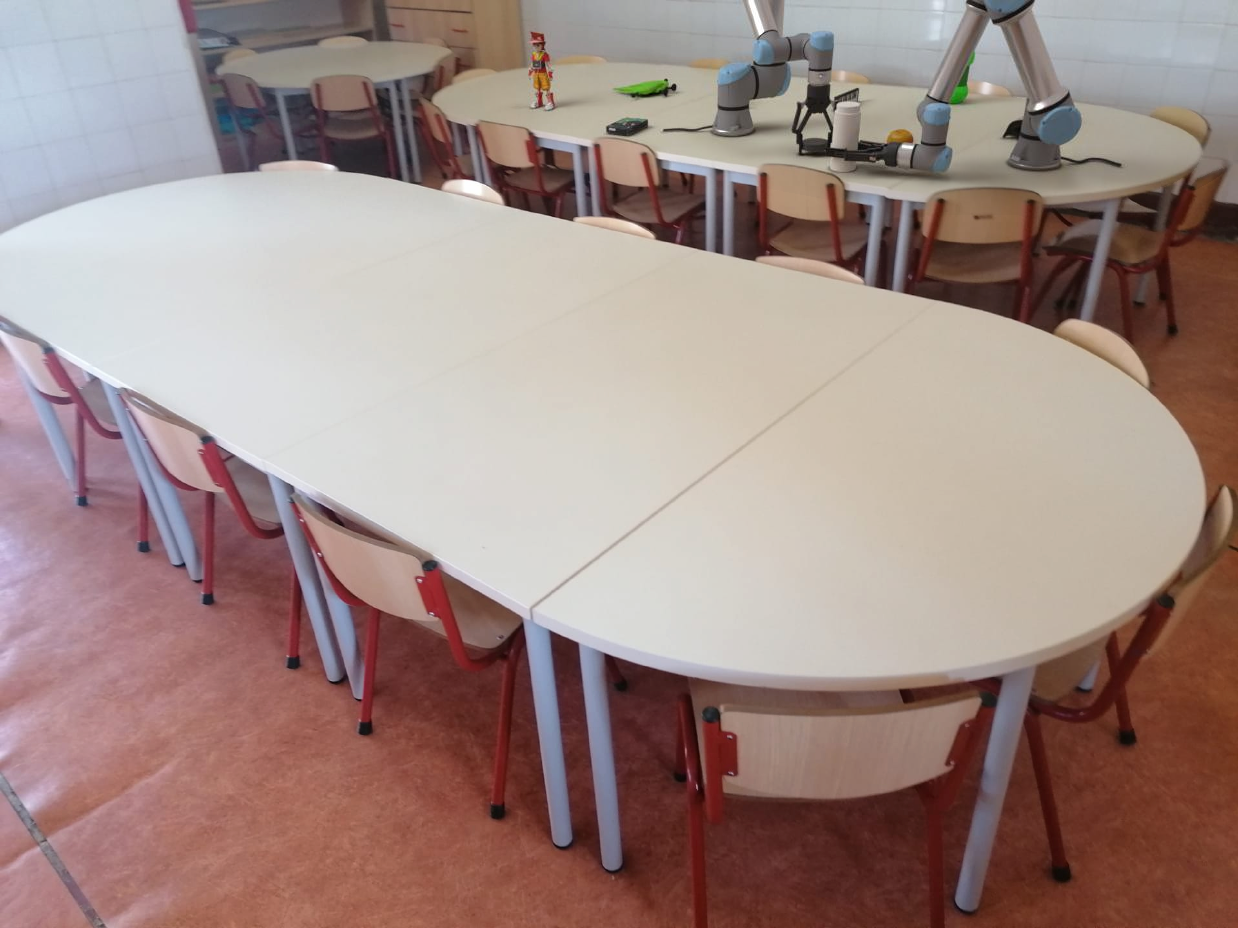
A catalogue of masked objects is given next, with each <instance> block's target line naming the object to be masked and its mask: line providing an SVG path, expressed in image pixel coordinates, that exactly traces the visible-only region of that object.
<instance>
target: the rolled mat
mask: <svg viewBox="0 0 1238 928" xmlns="http://www.w3.org/2000/svg"><path fill="white" fill-rule="evenodd" d="M1023 116H1024V115H1022V116H1020V117H1018V118H1016V119H1014V120H1013V121H1011V122H1010V123H1009V124H1008V125H1007V127H1006V129H1005V131H1004V133H1003V135H1002V139H1004V138H1006V137H1013V138H1015V139H1016V140H1018V139H1019V137H1020V132H1021V127H1022V122H1023Z"/></svg>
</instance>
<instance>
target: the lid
mask: <svg viewBox="0 0 1238 928" xmlns="http://www.w3.org/2000/svg"><path fill="white" fill-rule="evenodd" d="M826 147H828V139H826V138H823V137H809V138H808V137H807V138H803V142H802V151H804V152H809V153H822V152H825V149H826Z"/></svg>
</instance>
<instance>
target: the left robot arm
mask: <svg viewBox="0 0 1238 928" xmlns="http://www.w3.org/2000/svg"><path fill="white" fill-rule="evenodd" d="M785 1H786V0H742V2H743V5H744V8H745V11H746V14H747V17H748V20H749V23H750V26H751V29H752V32H753V35H754V38H755V42H754V43H753V45H752V57H753V59H752V60H753V61H752V65H751V63H750V62H749V61H735V62H730V63H727V64H724V65H723V66H722V67H720V68H719V70H718V75H717V82H716V83H717V111H716V114H715V118H714V120H713V124H711V125H706V126H702V127H697V128H686V127H671V128H663V129H662V132H671V131H672V132H673V131H684V132H698V131H702V130H707V129H711V128H712V133H713V134H715V135H717V136H721V137H741V136H746V135H750V134H752V133H754V127H755V126H754V122H753V118H752V115H751V111H750V101H754V100H761V99H768V98H769V99H770V98H771V99H772V98H776V97H781V96H783V95H784V94H786V92H787V91H788V90H789V88H790V84H791V80H792V71H791V65H790V64H789V62H796V61H797V62H798V61H808V68H807V69H808V71H807V85H806V86H807V87H806V98H805V99H804V101H797V102H796V111H795V114H794V118H793V121H792V126H791V129H790V131H791V133H792V134H795V135H796V136H795V137H796V138H795V143H796V145H797V146H798V155H799V156H802V155H803V150H802V142H803V140H804V134H803V131H804V129H805V127H806V125H807V123H808V122H809V119H810V117H811V116H812V115H815V114H819V115H820V114H823V116H824V119H825V122H826V123H827V127H828V128H829V131H828V132H827V140H828V147H829V148H832V138H833V126H834V124H833V122H832V120H831V118H830V115H829V113H828V110H827V109H828V108H829V106H830V105H831V107H832V111H833V114H834V113H835V110H837V106H836V105H837V104H838V103H839V102H838V100H834V99H833V100H832V99H831V82H832V72H833V71H832V68H833V59H834V48H835V34H834V33H833V32H832V31H829V30H818V31H813V32H811V33H808V32H799V33H797V34H795V35H792V36H791V35H790V36H783V35H784V18H785V17H784V16H785V3H786V2H785ZM804 106H805V107H806V108H807V110H806V112H805V113H804V116H803V118H802V120H801V122H800V124H799V121H800V117H801V114H802V110H803V109H804V108H805V107H804ZM798 124H799V125H798Z"/></svg>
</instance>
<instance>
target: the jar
mask: <svg viewBox="0 0 1238 928" xmlns="http://www.w3.org/2000/svg"><path fill="white" fill-rule="evenodd" d="M836 106H837V110H835V113H834V112H833V138H832V143H831V148H839V149H845V148H847V150H858V141H860V140H859V139H860V131H861V118H862V110H861V103H860V102H858V101H856V102H851V101H847V102H840V103H838V104H837V105H836ZM848 157H849V155H848ZM829 164H830V165H829V169H830V170H831V171H834V172H838V173H848V172H853V171H855V170H856V169H857V162H856V161H844V158H836V157H830V163H829Z"/></svg>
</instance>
